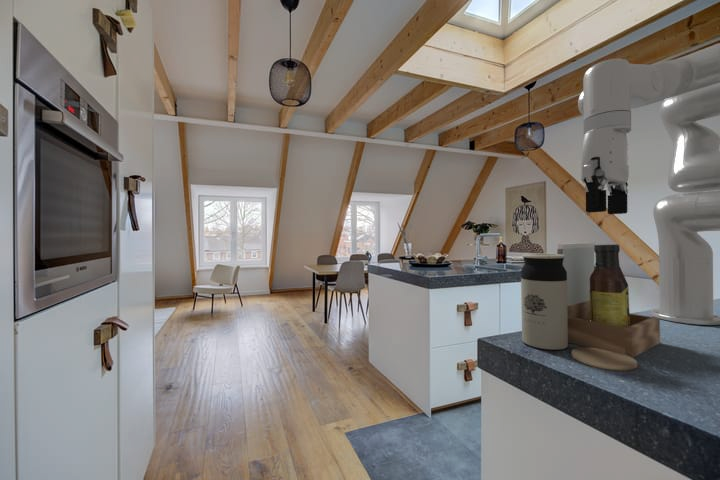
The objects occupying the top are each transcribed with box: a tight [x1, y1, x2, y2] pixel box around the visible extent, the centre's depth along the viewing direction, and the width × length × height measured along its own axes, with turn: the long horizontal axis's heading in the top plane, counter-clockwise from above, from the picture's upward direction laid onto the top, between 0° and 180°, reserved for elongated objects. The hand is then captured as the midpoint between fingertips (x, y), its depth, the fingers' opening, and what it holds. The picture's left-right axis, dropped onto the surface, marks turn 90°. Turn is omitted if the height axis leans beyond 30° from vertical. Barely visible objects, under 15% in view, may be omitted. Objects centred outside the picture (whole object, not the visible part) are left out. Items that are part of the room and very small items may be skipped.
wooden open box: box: [567, 301, 661, 359], centre depth 65 cm, size 14×12×7 cm
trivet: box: [571, 346, 638, 372], centre depth 55 cm, size 9×9×1 cm
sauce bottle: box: [589, 243, 630, 327], centre depth 64 cm, size 7×6×20 cm
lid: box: [556, 242, 596, 306], centre depth 69 cm, size 15×1×20 cm, turn 122°
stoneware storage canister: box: [520, 253, 569, 351], centre depth 64 cm, size 8×8×18 cm
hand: (607, 212), depth 63 cm, fingers open, 9 cm apart
